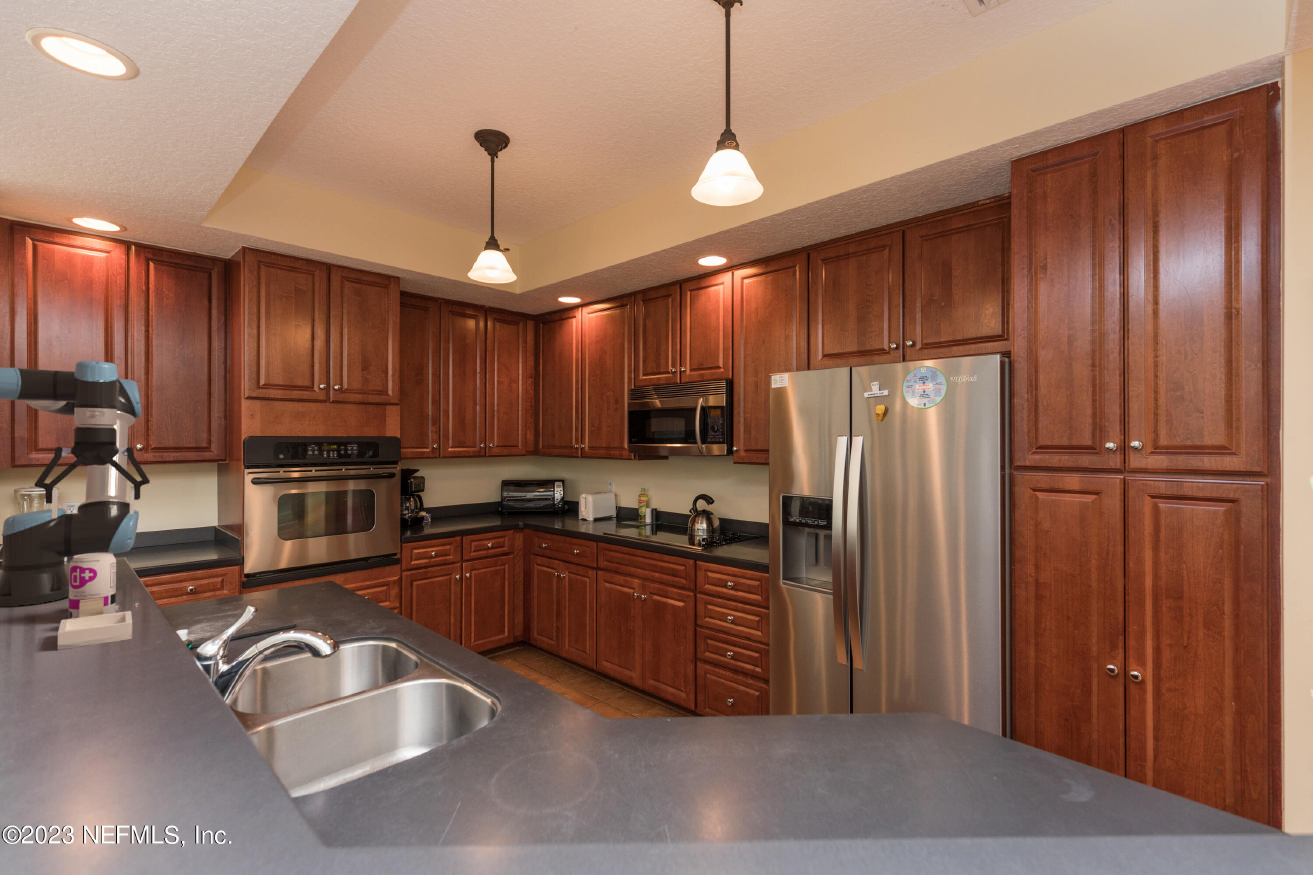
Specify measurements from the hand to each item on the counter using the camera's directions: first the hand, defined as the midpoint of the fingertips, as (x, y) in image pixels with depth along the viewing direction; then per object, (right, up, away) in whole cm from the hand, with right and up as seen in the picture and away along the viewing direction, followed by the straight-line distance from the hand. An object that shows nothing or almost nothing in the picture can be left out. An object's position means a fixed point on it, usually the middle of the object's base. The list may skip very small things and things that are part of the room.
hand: (94, 515), depth 148 cm
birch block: (+5, -25, -7) cm, 26 cm away
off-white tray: (+13, -25, -14) cm, 31 cm away
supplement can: (-1, -25, 0) cm, 25 cm away
